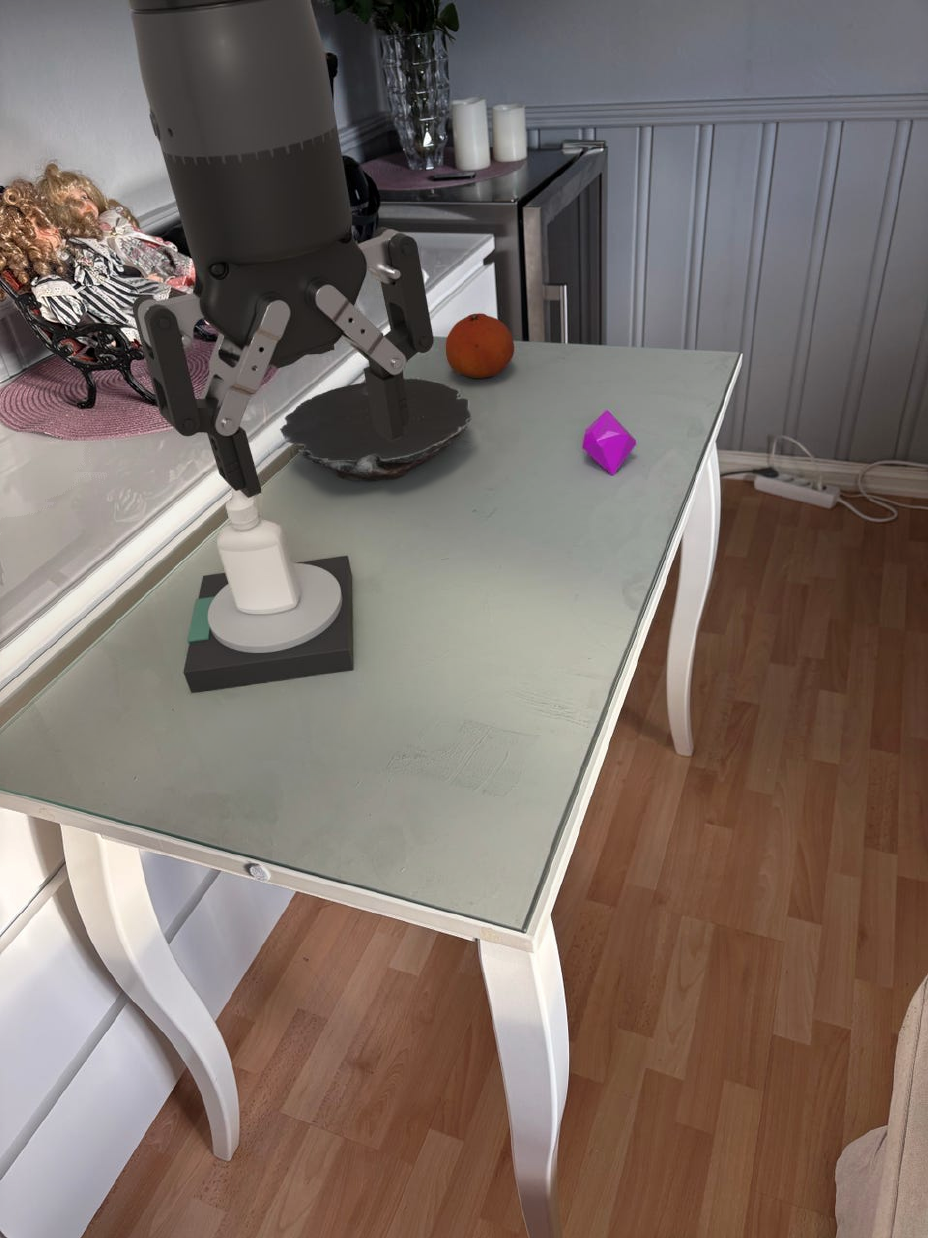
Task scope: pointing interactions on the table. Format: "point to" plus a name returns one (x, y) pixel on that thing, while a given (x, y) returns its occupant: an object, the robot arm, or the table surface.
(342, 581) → the scale
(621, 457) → the crystal
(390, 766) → the table surface
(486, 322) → the fruit
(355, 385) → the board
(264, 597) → the eye dropper bottle
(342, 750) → the table surface
